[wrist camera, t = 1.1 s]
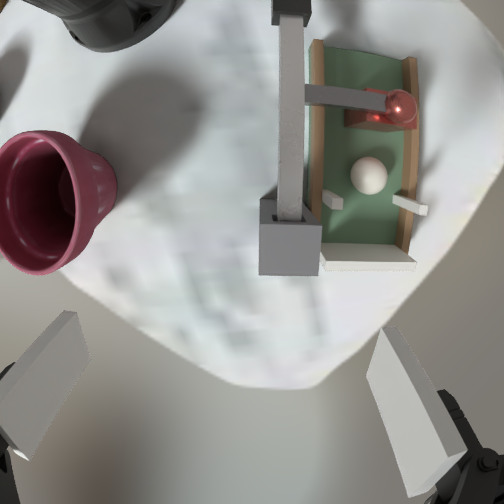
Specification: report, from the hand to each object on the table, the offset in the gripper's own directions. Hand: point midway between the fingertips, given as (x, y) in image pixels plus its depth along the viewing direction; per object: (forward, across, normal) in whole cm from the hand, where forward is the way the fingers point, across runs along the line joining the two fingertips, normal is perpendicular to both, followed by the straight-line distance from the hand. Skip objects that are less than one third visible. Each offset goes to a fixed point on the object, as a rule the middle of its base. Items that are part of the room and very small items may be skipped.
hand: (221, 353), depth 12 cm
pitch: (+24, +10, +8) cm, 27 cm away
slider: (+22, +9, +11) cm, 26 cm away
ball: (+20, +13, +6) cm, 25 cm away
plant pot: (+24, -20, +4) cm, 32 cm away
